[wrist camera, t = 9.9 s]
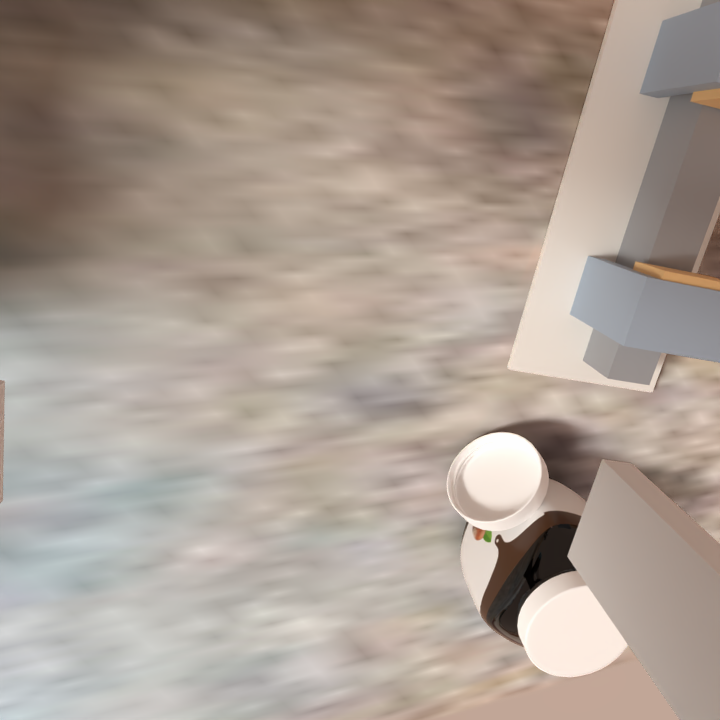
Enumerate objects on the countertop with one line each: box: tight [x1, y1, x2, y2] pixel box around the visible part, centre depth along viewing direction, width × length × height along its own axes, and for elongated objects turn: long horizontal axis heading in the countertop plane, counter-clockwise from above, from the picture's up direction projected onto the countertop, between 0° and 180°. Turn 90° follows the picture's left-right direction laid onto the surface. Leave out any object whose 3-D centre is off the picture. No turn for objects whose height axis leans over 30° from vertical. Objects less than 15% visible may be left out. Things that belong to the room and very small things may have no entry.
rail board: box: [507, 0, 720, 393], centre depth 37 cm, size 11×27×4 cm, turn 169°
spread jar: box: [447, 432, 628, 677], centre depth 40 cm, size 12×11×12 cm
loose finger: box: [570, 256, 720, 363], centre depth 37 cm, size 7×4×7 cm, turn 79°
